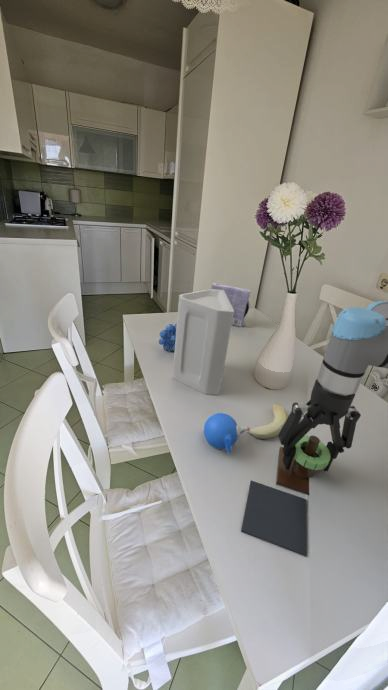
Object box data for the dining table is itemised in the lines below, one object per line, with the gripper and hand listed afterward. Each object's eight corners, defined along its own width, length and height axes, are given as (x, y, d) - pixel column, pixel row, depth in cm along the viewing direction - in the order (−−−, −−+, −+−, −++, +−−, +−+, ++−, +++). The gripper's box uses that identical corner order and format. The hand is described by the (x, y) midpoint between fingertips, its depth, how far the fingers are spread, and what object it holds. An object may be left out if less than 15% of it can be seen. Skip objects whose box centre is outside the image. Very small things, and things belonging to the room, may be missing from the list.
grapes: (187, 346, 122) (190, 319, 116) (188, 355, 116) (191, 326, 110) (158, 344, 120) (160, 316, 115) (157, 353, 114) (159, 324, 109)
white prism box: (172, 361, 111) (178, 286, 98) (212, 363, 112) (223, 290, 99) (172, 393, 94) (180, 308, 81) (219, 395, 95) (234, 311, 82)
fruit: (295, 420, 88) (298, 411, 87) (269, 447, 78) (272, 438, 76) (273, 408, 92) (275, 399, 91) (246, 432, 82) (248, 423, 80)
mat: (305, 500, 65) (306, 499, 65) (305, 556, 55) (306, 555, 55) (250, 481, 68) (250, 480, 68) (240, 531, 58) (241, 530, 58)
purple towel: (245, 324, 148) (252, 289, 140) (244, 328, 144) (251, 292, 135) (208, 316, 152) (212, 281, 144) (205, 319, 148) (210, 284, 140)
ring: (326, 447, 71) (329, 442, 70) (329, 475, 64) (331, 469, 63) (291, 437, 73) (293, 431, 72) (289, 462, 66) (291, 456, 65)
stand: (324, 463, 75) (338, 430, 70) (327, 501, 66) (344, 466, 60) (279, 449, 78) (290, 416, 72) (275, 484, 68) (287, 448, 63)
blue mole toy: (255, 459, 74) (262, 433, 70) (208, 463, 71) (213, 437, 67) (239, 424, 84) (244, 400, 80) (197, 427, 81) (201, 402, 78)
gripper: (376, 378, 64) (341, 455, 74) (278, 371, 62) (256, 450, 73) (398, 400, 57) (356, 481, 68) (289, 393, 56) (263, 477, 66)
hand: (304, 465), depth 70 cm, fingers closed on ring, 8 cm apart
